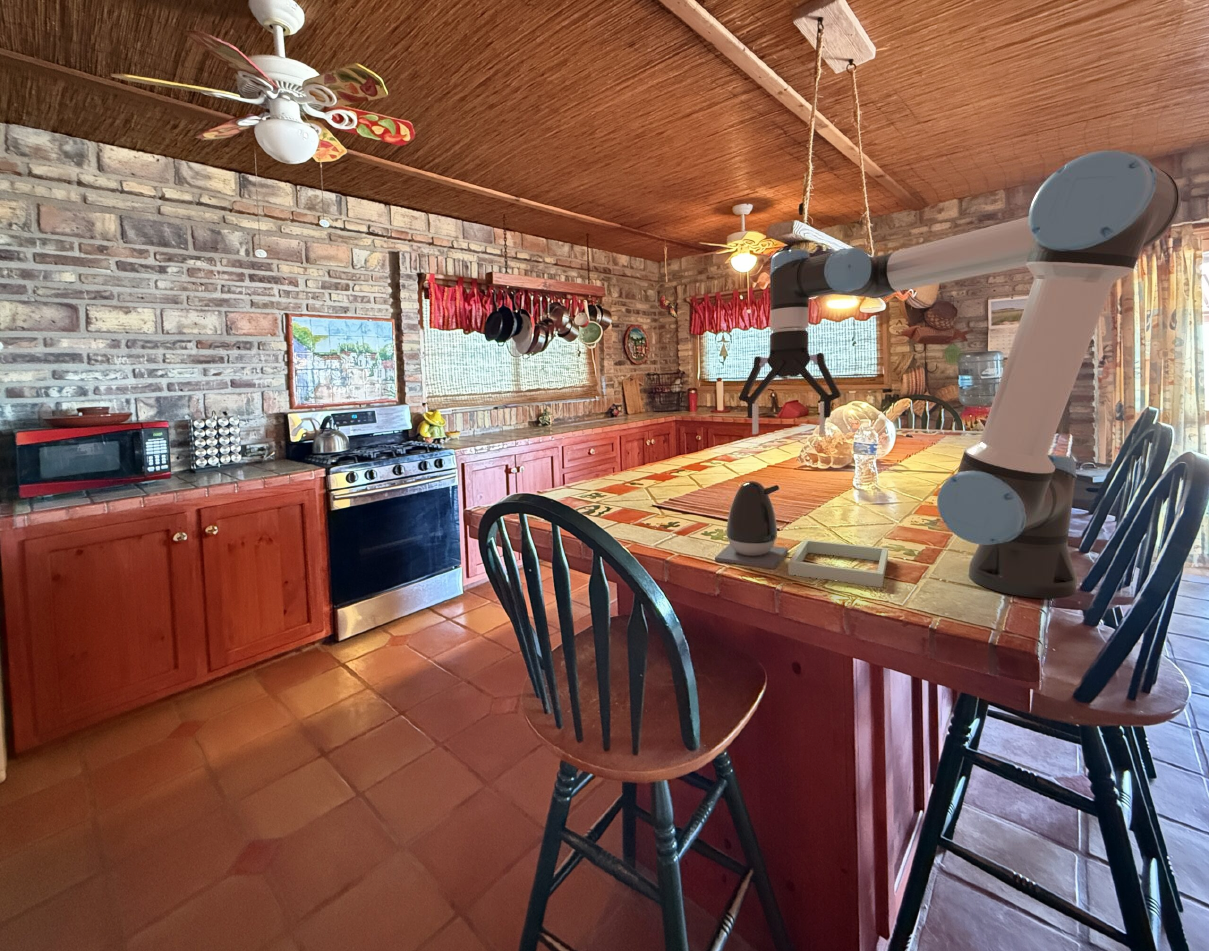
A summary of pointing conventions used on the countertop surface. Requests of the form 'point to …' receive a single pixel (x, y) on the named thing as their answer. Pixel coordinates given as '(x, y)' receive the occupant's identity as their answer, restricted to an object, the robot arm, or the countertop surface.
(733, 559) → the mat
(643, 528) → the countertop surface
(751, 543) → the pump dispenser
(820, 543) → the gray rectangular frame
